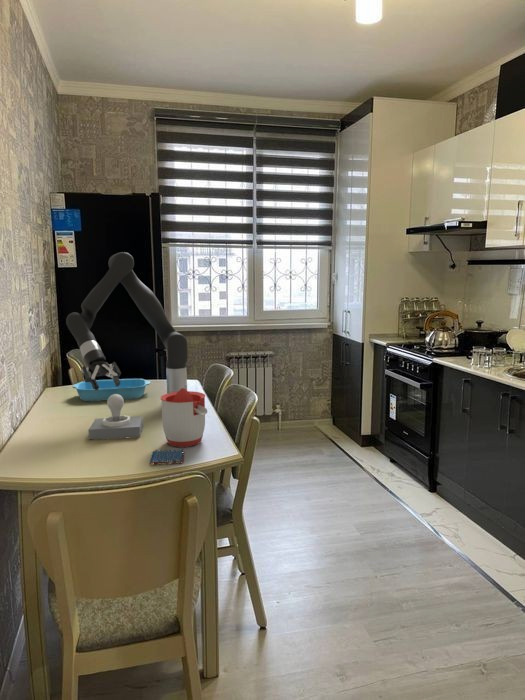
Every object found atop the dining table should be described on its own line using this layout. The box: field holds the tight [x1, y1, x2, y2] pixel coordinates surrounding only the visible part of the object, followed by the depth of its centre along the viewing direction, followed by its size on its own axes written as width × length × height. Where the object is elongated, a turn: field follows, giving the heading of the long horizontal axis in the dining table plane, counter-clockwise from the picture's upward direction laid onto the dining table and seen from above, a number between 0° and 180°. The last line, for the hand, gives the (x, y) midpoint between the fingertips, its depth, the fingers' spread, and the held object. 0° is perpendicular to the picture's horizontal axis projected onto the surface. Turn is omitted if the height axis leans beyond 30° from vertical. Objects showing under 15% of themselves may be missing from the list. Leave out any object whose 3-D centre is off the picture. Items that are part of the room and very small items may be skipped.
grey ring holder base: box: [88, 414, 144, 440], centre depth 187 cm, size 18×14×6 cm
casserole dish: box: [72, 378, 151, 402], centre depth 244 cm, size 37×22×7 cm, turn 104°
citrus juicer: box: [160, 388, 208, 448], centre depth 174 cm, size 16×17×20 cm
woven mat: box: [149, 449, 185, 466], centre depth 160 cm, size 10×11×2 cm
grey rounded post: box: [106, 394, 125, 422], centre depth 186 cm, size 6×6×11 cm
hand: (108, 387), depth 189 cm, fingers open, 8 cm apart
